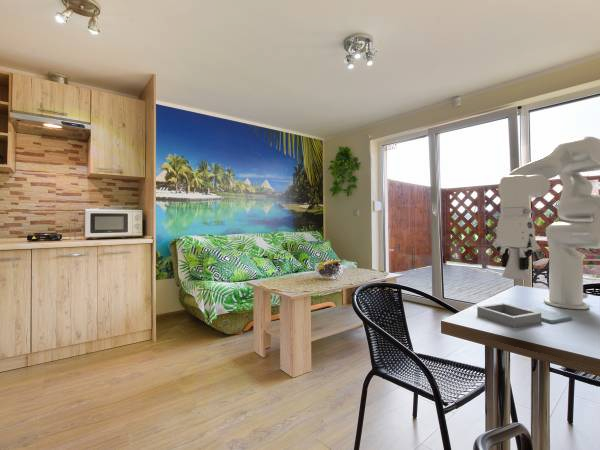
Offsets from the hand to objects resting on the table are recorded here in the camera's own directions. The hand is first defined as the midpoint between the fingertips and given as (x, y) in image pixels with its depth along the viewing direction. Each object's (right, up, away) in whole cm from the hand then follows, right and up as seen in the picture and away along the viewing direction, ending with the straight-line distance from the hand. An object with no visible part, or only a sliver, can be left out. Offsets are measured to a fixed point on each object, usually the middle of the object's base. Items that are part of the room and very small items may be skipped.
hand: (514, 267), depth 98 cm
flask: (0, -4, 0) cm, 4 cm away
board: (+11, -17, +1) cm, 20 cm away
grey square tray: (-2, -17, 0) cm, 17 cm away
